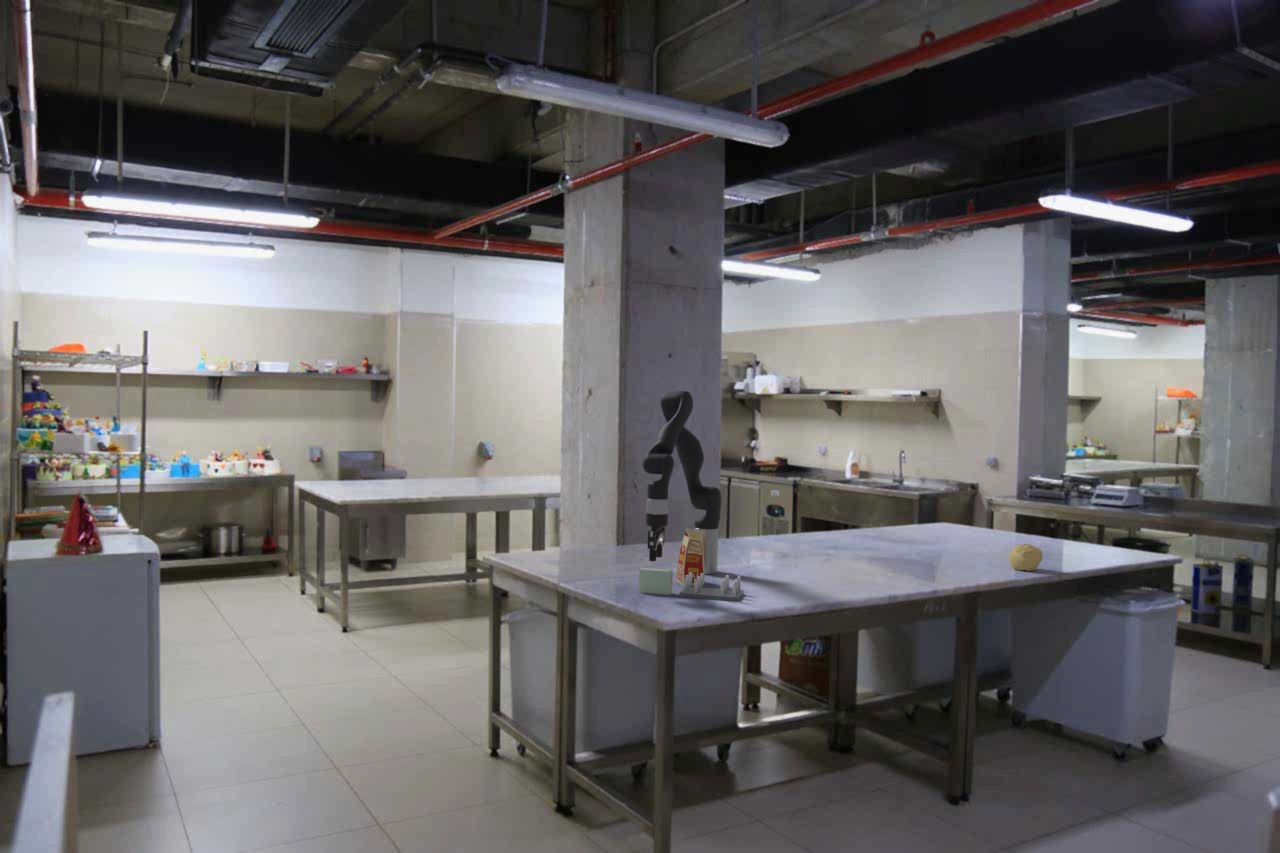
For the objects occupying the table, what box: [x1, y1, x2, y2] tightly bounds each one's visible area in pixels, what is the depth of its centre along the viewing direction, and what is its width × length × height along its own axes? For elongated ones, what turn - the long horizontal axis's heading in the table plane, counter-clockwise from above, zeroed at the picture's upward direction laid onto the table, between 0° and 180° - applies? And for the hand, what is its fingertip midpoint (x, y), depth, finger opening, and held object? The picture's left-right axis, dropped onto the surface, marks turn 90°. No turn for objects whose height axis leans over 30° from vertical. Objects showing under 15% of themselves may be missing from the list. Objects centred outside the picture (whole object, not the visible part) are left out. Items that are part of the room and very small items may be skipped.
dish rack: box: [678, 572, 744, 602], centre depth 306 cm, size 12×20×6 cm, turn 75°
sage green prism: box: [638, 567, 674, 596], centre depth 308 cm, size 3×11×8 cm, turn 75°
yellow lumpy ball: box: [1008, 543, 1044, 572], centre depth 370 cm, size 11×12×11 cm
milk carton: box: [676, 527, 706, 586], centre depth 327 cm, size 9×9×20 cm
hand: (655, 559), depth 308 cm, fingers open, 8 cm apart
